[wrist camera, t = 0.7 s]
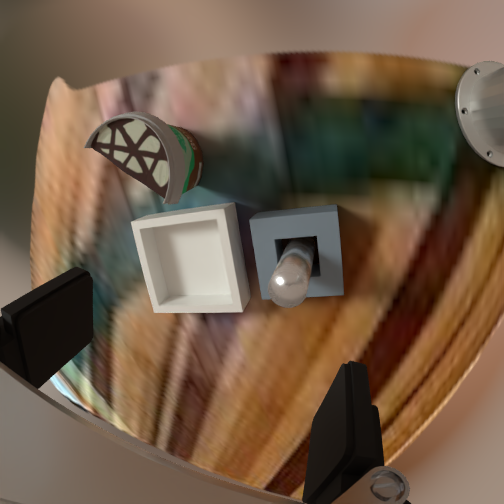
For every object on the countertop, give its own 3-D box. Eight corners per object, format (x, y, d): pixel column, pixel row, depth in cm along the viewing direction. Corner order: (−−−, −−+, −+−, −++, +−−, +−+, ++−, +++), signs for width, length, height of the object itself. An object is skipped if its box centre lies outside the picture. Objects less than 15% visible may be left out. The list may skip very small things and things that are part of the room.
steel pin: (313, 232, 36) (304, 270, 25) (316, 258, 37) (308, 306, 26) (286, 234, 37) (265, 272, 26) (289, 260, 38) (270, 308, 27)
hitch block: (336, 204, 35) (337, 211, 31) (343, 280, 37) (343, 294, 34) (257, 212, 37) (249, 219, 33) (268, 285, 40) (261, 299, 36)
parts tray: (234, 202, 37) (223, 208, 34) (251, 297, 41) (242, 312, 37) (147, 214, 41) (131, 222, 37) (168, 299, 44) (154, 312, 40)
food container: (233, 147, 36) (199, 148, 26) (207, 192, 38) (167, 207, 29) (153, 100, 36) (103, 91, 27) (132, 142, 38) (80, 145, 29)
